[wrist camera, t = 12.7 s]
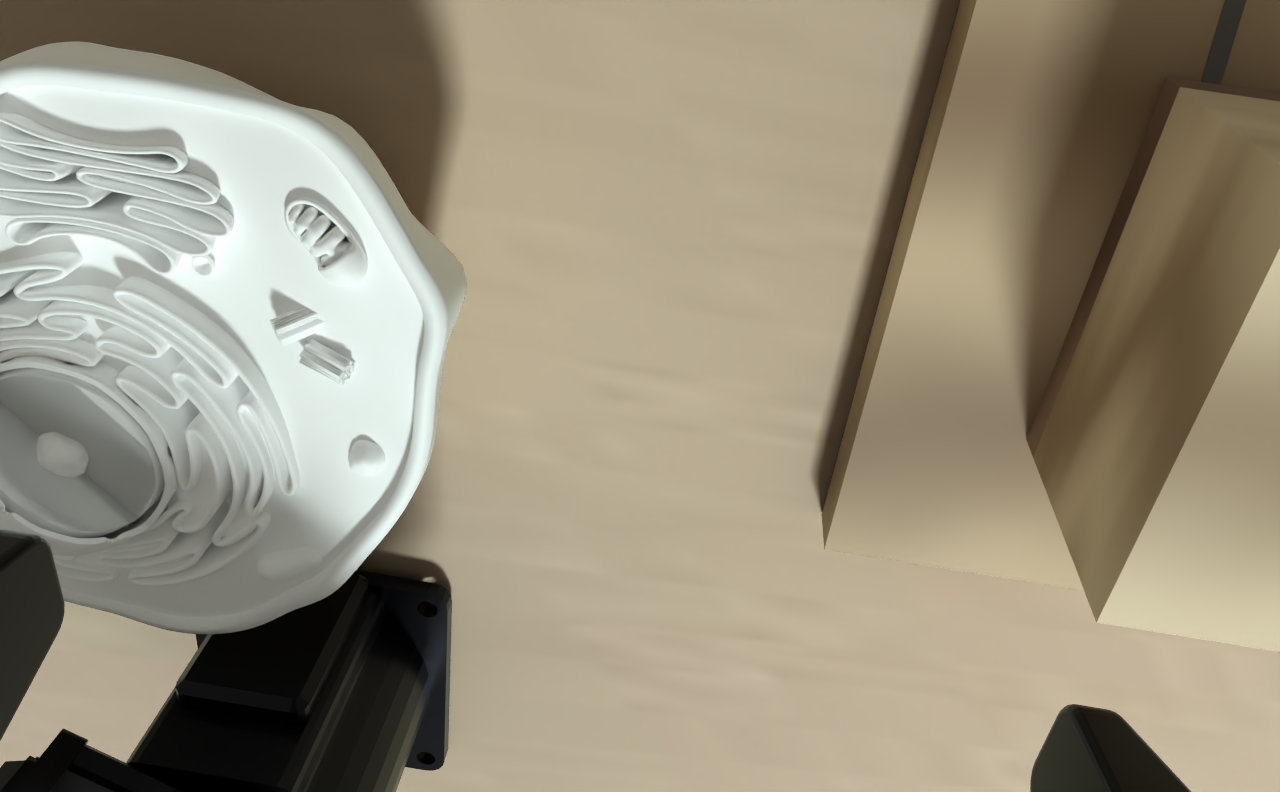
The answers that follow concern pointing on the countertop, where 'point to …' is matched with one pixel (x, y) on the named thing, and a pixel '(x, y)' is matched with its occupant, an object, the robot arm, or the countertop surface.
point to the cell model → (205, 338)
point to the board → (1010, 266)
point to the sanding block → (1178, 382)
